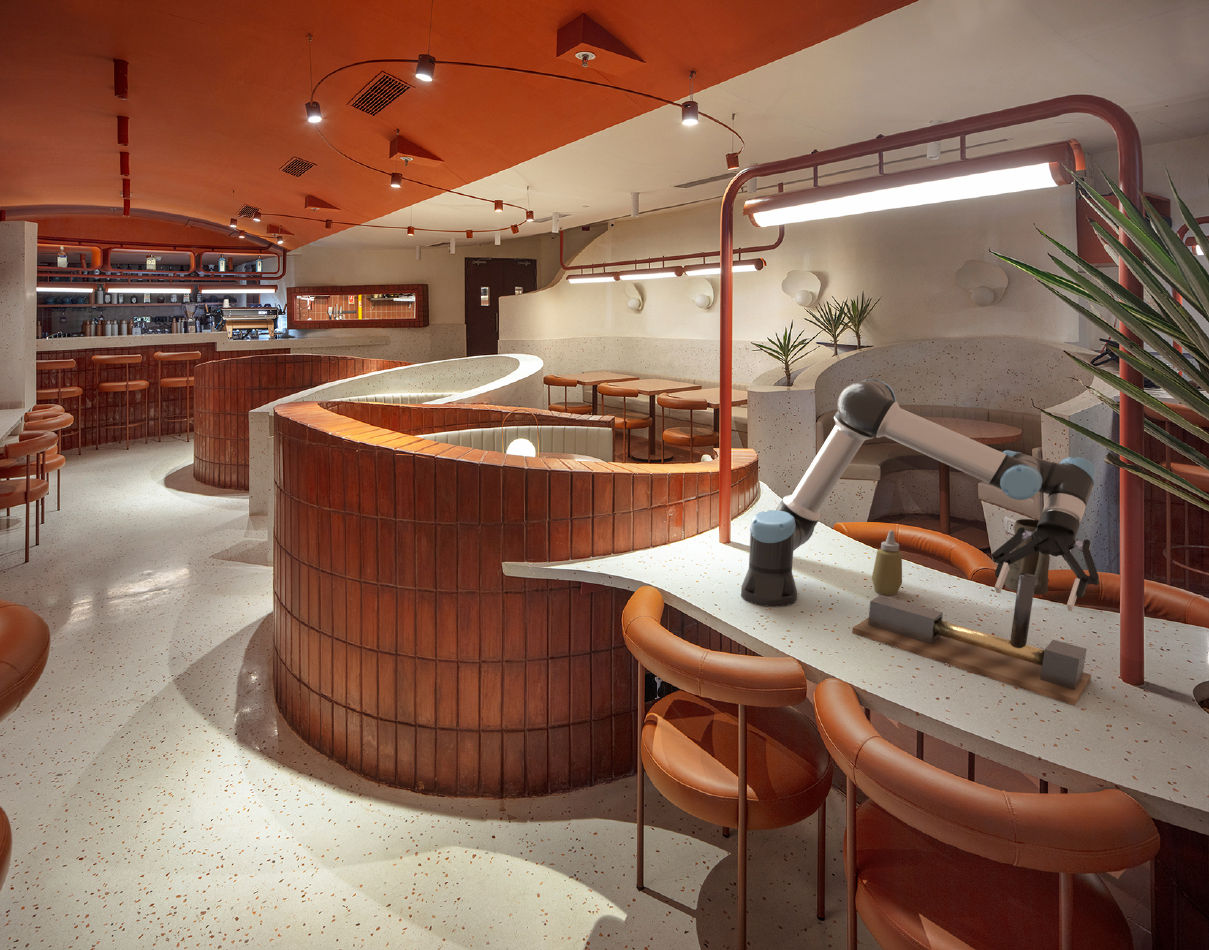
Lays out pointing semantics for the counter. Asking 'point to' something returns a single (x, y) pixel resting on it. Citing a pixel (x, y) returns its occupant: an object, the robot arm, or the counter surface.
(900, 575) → the squeeze bottle
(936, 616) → the outer sleeve
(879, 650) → the counter surface
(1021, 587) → the sliding bolt
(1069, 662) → the socket
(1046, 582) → the beer stein
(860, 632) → the base board
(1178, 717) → the counter surface
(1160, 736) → the counter surface
